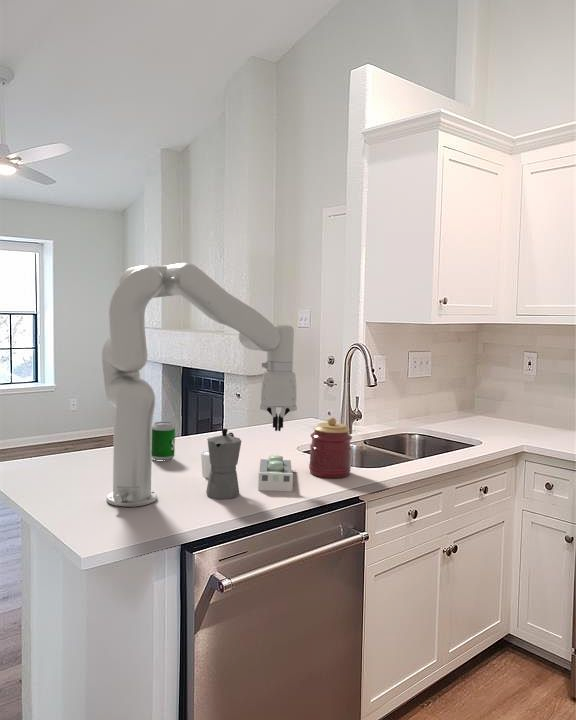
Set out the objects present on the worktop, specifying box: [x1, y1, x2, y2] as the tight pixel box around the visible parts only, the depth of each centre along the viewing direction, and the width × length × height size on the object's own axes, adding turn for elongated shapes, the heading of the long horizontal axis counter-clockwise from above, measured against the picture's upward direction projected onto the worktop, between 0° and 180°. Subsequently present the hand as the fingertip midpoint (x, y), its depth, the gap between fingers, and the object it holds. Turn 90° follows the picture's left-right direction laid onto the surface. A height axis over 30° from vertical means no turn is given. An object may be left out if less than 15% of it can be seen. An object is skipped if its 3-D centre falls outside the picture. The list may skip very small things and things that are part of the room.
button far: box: [268, 454, 284, 462], centre depth 188 cm, size 4×4×3 cm
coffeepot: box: [205, 428, 242, 500], centre depth 165 cm, size 15×9×18 cm, turn 171°
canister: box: [308, 417, 353, 479], centre depth 190 cm, size 13×13×18 cm
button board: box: [257, 458, 294, 492], centre depth 181 cm, size 24×10×5 cm, turn 1°
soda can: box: [152, 421, 176, 461], centre depth 199 cm, size 8×8×12 cm
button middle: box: [268, 461, 283, 472], centre depth 181 cm, size 4×4×3 cm
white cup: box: [200, 450, 211, 479], centre depth 182 cm, size 7×7×7 cm
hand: (277, 430), depth 177 cm, fingers closed
